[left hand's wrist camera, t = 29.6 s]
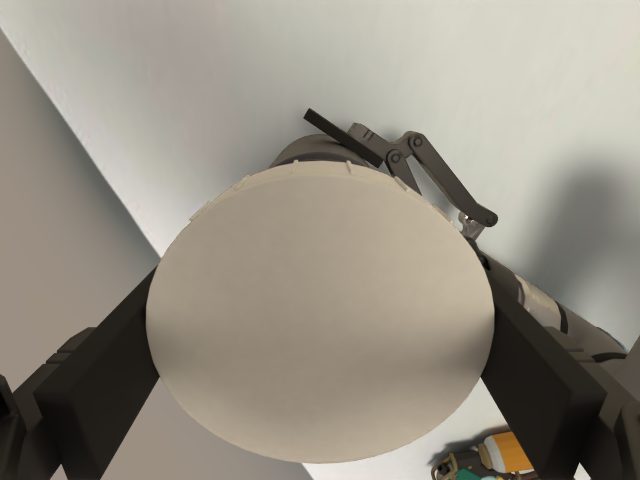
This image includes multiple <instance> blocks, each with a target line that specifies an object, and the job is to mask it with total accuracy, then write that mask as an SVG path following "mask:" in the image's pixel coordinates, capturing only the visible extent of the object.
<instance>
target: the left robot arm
mask: <svg viewBox="0 0 640 480" xmlns="http://www.w3.org/2000/svg"><path fill="white" fill-rule="evenodd" d="M158 265H159V264H158ZM158 265H157V266H158ZM481 265H482V264H481ZM157 266H156V267H155V268H154V269H153V270H152V271H151V272H150V273H149V274H148V276H147V277H146V278H145V279H144V280H143V281H142V282H141V283H140V284H139V285H138V286H137V287H136V288H135V289H134V290H133V291H132V292H131V293H130V294H129V295H128V296H127V297H126V298H125V299H124V300H123V301H122V302H121V303H120V304H119V305H118V306H117V307H116V308H115V309H114V310H113V311H112V312H111V313H110V314H109V315H108V316H107V317H106V318H105V319H104V320H103V321H102V322H101V323H100V324H99V325H98V326H97V327H88V328H86V329H85V330H83V331H81V332H80V333H78V334H76V335H75V336H73V337H71V338H70V339H69V340H68V341H67V342H66V343H65V344H64V345H62V346H61V347H60V348H59V349H58V350H57V353H54V354H53V355H52V356H51V357H50V358H49V359H48V360H47V361H46V364H43V365H41V366H40V367H39V368H38V369H37V370H36V371H35V372H34V373H33V374H32V375H31V376H30V377H29V378H28V379H27V380H26V381H25V382H24V383H23V384H22V385H20V386H19V387H18V388H17V389H16V390H15V391H14V392H13V393H12V392H11V390H10V388H9V385H8V383H7V381H6V378H5V377H4V376H2V375H1V374H0V480H50V478H51V477H52V476H53V474H54V473H55V471H56V470H57V469H58V467H59V466H60V464H62V466H63V469H64V471H65V474H66V476H67V479H68V480H100V479H101V477H102V475H103V474H104V472H105V470H106V469H107V467H108V465H109V464H110V462H111V460H112V458H113V456H114V455H115V453H116V451H117V450H118V448H119V446H120V445H121V443H122V441H123V439H124V438H125V436H126V434H127V432H128V431H129V429H130V427H131V426H132V424H133V422H134V420H135V418H136V417H137V415H138V413H139V412H140V410H141V408H142V406H143V405H144V403H145V401H146V400H147V398H148V396H149V394H150V393H151V391H152V389H153V388H154V386H155V384H156V382H157V381H158V379H159V377H160V376H159V373H158V371H157V369H156V367H155V365H154V363H153V359H152V355H151V351H150V347H149V343H148V338H147V332H146V305H147V299H148V294H149V289H150V285H151V282H152V280H153V277H154V274H155V272H156V269H157ZM482 266H483V265H482ZM483 268H484V270H485V273H486V276H487V279H488V282H489V285H490V288H491V292H492V298H493V304H494V334H493V339H492V344H491V348H490V352H489V356H488V360H487V363H486V366H485V368H484V370H483V372H482V374H481V376H480V377H481V379H482V380H483V382H484V384H485V385H486V387H487V389H488V391H489V392H490V394H491V396H492V398H493V399H494V401H495V403H496V404H497V406H498V408H499V410H500V411H501V413H502V415H503V417H504V418H505V420H506V422H507V423H508V425H509V427H510V429H511V430H512V432H513V434H514V435H515V437H516V439H517V441H518V442H519V444H520V446H521V448H522V449H523V451H524V453H525V454H526V456H527V458H528V460H529V461H530V463H531V465H532V467H533V468H534V470H535V472H536V473H537V475H538V477H539V479H540V480H572V479H573V477H574V475H575V472H576V470H577V467H578V465H579V462H580V464H581V465H582V466H583V468H584V469H585V471H586V472H587V473H588V475H589V476H590V477H591V479H590V480H640V401H638V400H636V399H635V398H634V397H633V396H632V395H631V394H630V393H629V392H628V391H627V390H626V389H625V388H624V387H623V386H622V385H621V384H620V383H619V382H617V381H616V380H615V379H614V378H613V377H612V376H611V375H610V374H609V373H608V372H607V371H606V370H605V369H604V368H603V367H602V366H601V365H599V364H598V363H595V360H594V359H593V358H592V357H591V356H590V355H589V354H588V353H587V352H584V349H583V348H582V347H580V346H579V345H578V344H577V343H576V342H575V341H574V340H573V339H572V338H571V337H570V336H568V335H566V334H565V333H563V332H561V331H559V330H558V329H556V328H554V327H553V326H542V325H541V324H540V323H539V322H538V321H537V320H536V319H535V318H534V317H533V316H532V315H531V314H530V313H529V312H528V311H527V310H526V309H525V308H524V307H523V306H522V305H521V304H520V303H519V302H518V301H517V300H516V299H515V298H514V297H513V296H512V295H511V294H510V293H509V292H508V291H507V290H506V288H505V287H504V286H503V285H502V284H501V283H500V282H499V281H498V280H497V279H496V278H495V277H494V276H493V275H492V274H491V273H490V272H489V271H488V270H487V269H486V268H485V267H484V266H483Z"/></svg>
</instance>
